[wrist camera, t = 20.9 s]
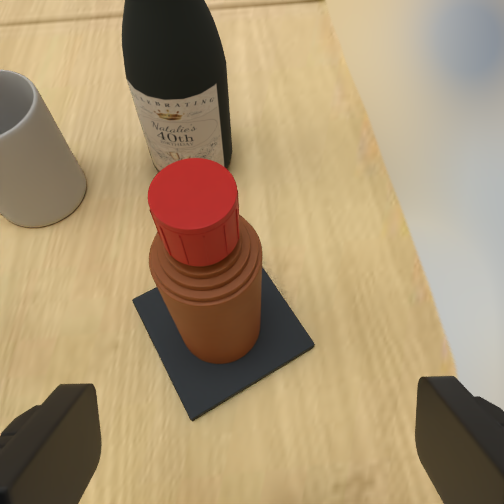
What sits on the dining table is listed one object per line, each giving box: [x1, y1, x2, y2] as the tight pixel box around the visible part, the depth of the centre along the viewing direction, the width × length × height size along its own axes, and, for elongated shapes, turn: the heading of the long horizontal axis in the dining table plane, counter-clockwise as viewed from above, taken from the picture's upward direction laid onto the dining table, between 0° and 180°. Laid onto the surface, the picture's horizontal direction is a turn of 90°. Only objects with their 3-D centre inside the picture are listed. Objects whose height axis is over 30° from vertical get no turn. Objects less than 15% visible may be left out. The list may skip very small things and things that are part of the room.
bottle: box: [149, 215, 262, 364], centre depth 27 cm, size 6×6×17 cm
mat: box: [132, 267, 315, 421], centre depth 35 cm, size 11×11×1 cm
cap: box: [148, 158, 240, 266], centre depth 21 cm, size 4×4×4 cm
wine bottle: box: [122, 0, 232, 172], centre depth 31 cm, size 8×8×30 cm
